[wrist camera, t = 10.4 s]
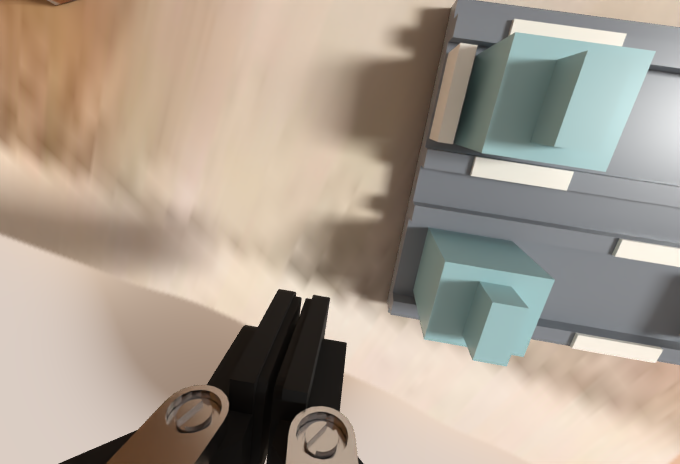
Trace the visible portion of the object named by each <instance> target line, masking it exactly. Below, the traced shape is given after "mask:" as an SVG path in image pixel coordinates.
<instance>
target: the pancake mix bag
mask: <svg viewBox="0 0 680 464" xmlns="http://www.w3.org/2000/svg"><path fill="white" fill-rule="evenodd" d="M47 1H49V2H51V3H53V4H55V5H59V4H62V3H66V2H70V1H74V0H47Z"/></svg>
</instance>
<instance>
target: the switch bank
mask: <svg viewBox="0 0 680 464" xmlns="http://www.w3.org/2000/svg"><path fill="white" fill-rule="evenodd" d="M515 32H519V33H526V34H533V35H541V36H548V37H555V38H563V39H570V40H578V41H585V42H592V43H600V44H607V45H614V46H622V47H629V48H636V49H644V50H651V51H656V52H655V55H654V57H653V60H652V62H651V64H650V67H649V69H648V72H647V74H646V76H645V79H644V81H643V84H642V86H641V88H640V91H639V93H638V96H637V98H636V100H635V103H634V105H633V108H632V110H631V113H630V115H629V117H628V120H627V122H626V125H625V127H624V129H623V132H622V134H621V137H620V139H619V141H618V144H617V146H616V149H615V151H614V153H613V156H612V158H611V161H610V163H609V166H608V168H607V170H606V172H603V171H596V170H590V169H583V168H576V167H570V166H563V165H557V164H550V163H544V162H537V161H530V160H524V159H517V158H511V157H504V156H497V155H491V154H484V153H480V152H477V151H474V150H471V149H468V148H466V147H463V146H460V145H457V144H454V141H455V137H456V133H457V129H458V125H459V121H460V117H461V113H462V109H463V105H464V101H465V97H466V93H467V89H468V85H469V81H470V77H471V73H472V69H473V65H474V61H475V57H476V55H477V54H479V53H481V52H483V51H484V50H486V49H488V48H489V47H491V46H493V45H494V44H496V43H498V42H500V41H501V40H503V39H505V38H506V37H508V36H510V35H511V34H513V33H515ZM428 227H429V228H436V229H442V230H448V231H454V232H460V233H466V234H472V235H479V236H485V237H491V238H497V239H503V240H509V241H513V242H514V243H515V244H516V245H517V246H518V247H519V248H520V249H521V250H523V251H524V252H525V253H526V254H527V255H528V256H529V257H530V258H531V259H532V260H534V261H535V262H536V263H537V264H538V265H539V266H540V267H541V268H542V269H543V270H545V271H546V272H547V273H548V274H549V275H550V276H551V277H552V278H553V279H555V281H554V283H553V286H552V288H551V291H550V293H549V296H548V298H547V301H546V303H545V306H544V308H543V310H542V313H541V315H540V318H539V320H538V323H537V325H536V328H535V330H534V332H533V335H532V337H531V339H534V340H539V341H545V342H551V343H556V344H562V345H568V346H570V347H571V348H572V349H578V350H584V351H589V352H595V353H601V354H606V355H612V356H618V357H624V358H629V359H635V360H641V361H646V362H652V363H656V362H657V361H659V362H665V363H671V364H677V365H680V27H673V26H665V25H658V24H650V23H643V22H635V21H628V20H620V19H612V18H605V17H597V16H590V15H582V14H575V13H567V12H560V11H552V10H544V9H537V8H529V7H522V6H514V5H507V4H499V3H492V2H484V1H476V0H456V2H455V3H454V4H453V6H452V7H451V11H450V16H449V20H448V25H447V30H446V34H445V39H444V43H443V48H442V53H441V57H440V62H439V66H438V71H437V75H436V80H435V85H434V89H433V94H432V98H431V103H430V108H429V112H428V117H427V121H426V126H425V131H424V135H423V140H422V144H421V149H420V153H419V158H418V163H417V167H416V172H415V176H414V181H413V186H412V190H411V195H410V199H409V204H408V209H407V213H406V218H405V222H404V227H403V231H402V236H401V241H400V245H399V250H398V254H397V259H396V264H395V268H394V273H393V277H392V282H391V286H390V291H389V296H388V300H387V302H388V312H389V313H390V315H396V316H402V317H408V318H413V319H419V315H418V310H417V306H416V301H415V297H414V293H413V288H414V284H415V280H416V276H417V272H418V268H419V264H420V260H421V256H422V252H423V248H424V244H425V240H426V236H427V231H428ZM419 320H420V319H419Z"/></svg>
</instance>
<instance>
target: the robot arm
mask: <svg viewBox="0 0 680 464" xmlns="http://www.w3.org/2000/svg"><path fill="white" fill-rule="evenodd" d="M329 302H330V298H328V297H322V296H316V295H313V297H312V299H307V298H306V300H305V303H304V305H303V308H302V311H301V314H300V307H301V297H296V292H293V291H287V290H281V289H279V290H278V291H277V293H276V295H275V297H274V299H273V300H272V302H271V304H270V306H269V308H268V309H267V311H266V313H265V315H264V317H263V319H262V320H261V322H260V324H259V326H258V327H254V326H248V325H245V326H243V328H242V329H241V331H240V332H239V334H238V335H237V337H236V339H235V340H234V342H233V343H232V345H231V347H230V349H229V350H228V351H227V353H226V355H225V356H224V358H223V360H222V361H221V363H220V365H219V366H218V368H217V369H216V371H215V372H214V374H213V376H212V377H211V379H210V381H209V382H208V384H207V385H194V386H191V387H187V388H184V389H182V390H180V391H178V392H176V393H174V394H173V395H172V396H171V397H169V398H168V399H167V400H166V401H165V402H164V403H163V404H162V405H161V406H160V407H159V408H158V409H157V410H156V411H155V412H154V413H153V414H152V415H151V417H150V418H149V419H148V420H147V421H146V422H145V423H144V424H143V425H142V426H141V427H140V428H139V429H138V430H136V431H134V432H131V433H129V434H127V435H124V436H122V437H120V438H117V439H115V440H113V441H110V442H108V443H106V444H103V445H101V446H99V447H96V448H94V449H92V450H89V451H87V452H85V453H82V454H80V455H78V456H75V457H73V458H71V459H68V460H66V461H64V462H62V463H59V464H264V463H265V460H266V456H267V463H266V464H363V463H362V461H361V460H360V459H359V458H358V456H357V447H356V439H355V433H354V430H353V426H352V425H351V423H350V422H349V420H348V419H347V418H346V417H345V416H344V415H343V414H342V413H340V403H341V402H340V401H341V393H342V383H343V374H344V365H345V355H346V345H347V343H345V342H339V341H334V340H328V339H324V335H325V328H326V322H327V315H328V308H329Z"/></svg>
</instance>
